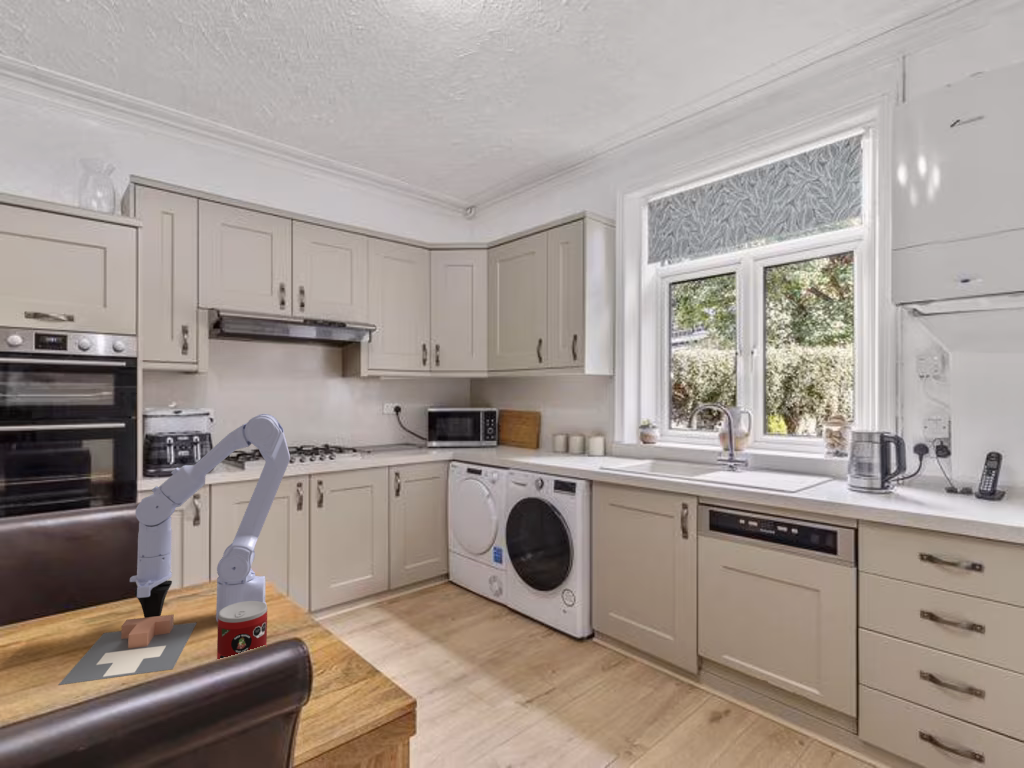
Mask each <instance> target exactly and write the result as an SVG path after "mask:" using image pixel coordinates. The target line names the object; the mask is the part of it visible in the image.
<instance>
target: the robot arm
mask: <svg viewBox="0 0 1024 768" xmlns="http://www.w3.org/2000/svg"><path fill="white" fill-rule="evenodd" d="M251 445H253V447H255V448H257V449H258V450H259V451H258V452H259V453H260V454H261V456H262V458H263V459H264V461H265V463H264V466H263V469H262V471H261V473H260V476H259V478H258V480H257V482H256V485H255V488H254V491H253V492H252V495H251V497H250V499H249V502H248V505H247V507H246V509H245V511H244V515H243V516H242V519H241V520H240V524H239V525H238V526H239V527H238V529H237V531H236V533H235V535H234V539H233V540H232V542H231V544H229V545H228V546H227V547H226V548H225V550H224V552H223V555H222V557H221V558H220V560H219V562H218V564H217V567H216V573H217V579H216V606H215V607H216V610H215V611H216V612H215V619H216V623H218V616H219V612H220V610H222V609H223V608H225V607H227V606H229V605H232V604H235V603H239V602H245V601H259V602H263V603H265V604H266V605H267V602H266V576H265V575H262V576H259V575H256V572H255V571H254V570H253V569H252V564H253V562H254V560H255V556H256V553H255V547H256V544H257V542H258V539H259V537H260V535H261V532H262V529H263V527H264V524H265V522H266V520H267V518H268V515H269V512H270V510H271V507H272V505H273V503H274V500H275V498H276V495H277V493H278V490H279V487H280V486H281V485H280V484H281V483H282V480H283V478H284V475H285V473H286V470H287V468H288V466H289V463H290V459H291V454H290V451H289V445H288V442H287V438H286V435H285V429H284V427H283V426H282V425H281V423H280V422H279V420H277V418H276V417H275V416H274V415H271V414H269V413H260V414H257V415H255V416H254V417H251V418H250V419H249V420H248V421H247V422H246V423H244V424H242V425H240V426H239V427H237V428H236V429H234V430H233V431H231V432H229V433H228V434H227V435H225V437H223V438H222V439H221V440H220V441H219V442H218V443H217V444H216V445H215V446H213V447H212V448H211V449H210V450H209V451H208V452H207V453H206V454H205V455H204V456H203V457H201V458H200V460H198V461H197V462H196V463H195V464H191V465H189V464H185V465H182V466H181V467H176V468H174V469H173V470H172V471H171V476H169V478H167V479H166V480H165V481H164V482H162V484H160V485H159V486H157V485H156V486H155V487H153V488H152V489H151V491H152V492H153V493H152V494H150V495H148V496H145V497H143V498H142V499H141V501H140V502H139V503H138V504H137V506H136V508H135V517H136V519H137V521H138V522H139V523H138V532H137V533H138V534H137V536H138V537H137V561H136V562H137V563H136V568H137V569H136V575H132V576H131V577H130V578H129V583H135V584H136V586H137V587H136V588H135V589H134V595H135V597H136V599H137V600H138V601H139V604H140V606H141V608H142V613H143V618H146V617H155V616H162V613H163V612H162V611H163V608H164V603H165V599H166V596H167V594H168V591H169V589H170V588H171V586H172V584H173V581H172V580H170V579H171V578H172V576H173V572H172V540H173V539H172V538H173V537H172V536H173V534H172V533H173V530H172V515H173V514H174V513H175V510H176V508H179V507H181V506H183V505H184V503H185V502H187V501H188V500H189V499H190V498H192V497H193V496H194V495H195V494H196V493H197V492H198V491H200V490H201V489H202V488H203V486H205V485H206V476H207V474H208V473H210V472H211V471H212V470H213V469H215V468H216V467H218V465H219V464H221V463H222V462H223V461H224V460H225V459H226V458H227V457H228V458H229V456H230V455H231V454H233V453H234V452H235V451H237V450H239V449H240V450H241V449H244V448H248V447H250V446H251Z"/></svg>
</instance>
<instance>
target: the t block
mask: <svg viewBox="0 0 1024 768" xmlns="http://www.w3.org/2000/svg"><path fill="white" fill-rule="evenodd" d="M174 618H175V617H174V614H166V615H161V616H155V617H146V618H144V617H138V618H129V619H126V620H125V621H124V622H123V623H122V625H121V630H120V631H121V639H125V638H128V649H129V648H137V647H145V646H148V644H149V643H150V641H151V640H152V638H153V637H154V635H158V634H167V633H170V632H171V630H172V628H173V625H174V621H175V620H174Z"/></svg>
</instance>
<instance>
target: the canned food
mask: <svg viewBox="0 0 1024 768" xmlns="http://www.w3.org/2000/svg"><path fill="white" fill-rule="evenodd" d="M267 634H268V605H267V603H266V604H265V603H263V602H259V601H245V602H239V603H235V604H232V605H229V606H227V607H225V608H223V609H222V610H220V612H219V616H218V622H217V636H216V637H217V640H216V642H217V643H216V644H217V645H216V646H217V648H216V651H217V652H216V660H217V659H220V658H224V657H228V656H231V655H235V654H238V653H241V652H244V651H247V650H250V649H254V648H257V647H260V646H263V645H266V646H267V639H268V637H267V636H268V635H267Z"/></svg>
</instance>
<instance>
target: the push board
mask: <svg viewBox="0 0 1024 768" xmlns="http://www.w3.org/2000/svg"><path fill="white" fill-rule="evenodd" d="M196 625H197V622H196V621H195V622H189V623H180V624H173V628H172V630H171V632H170V633H167V634H158V635H154V637H153V638H152V640H151V641H150V643H149V644H148V646H145V647H137V648H129V649H128V638H125V639H121V630H120V631H111V632H110V631H109V632H103V633H102V635H101V636H100V637H99V638H98V639H97V640H96V641H95V642H94V644H93V645H91V647H90V648H89V649H88V651H87V652H86V653H85V654H84V655H83V656H82V657H81V658H80V660H79V661H78V662H77V663H76V664H75V665H74V666H73V667H72V668H71V670H70V671H69V672H68V673H67V674H66V675H65V677H64V678H63V679H62V680H61V681H60V682H59V683H58V686H61V685H63V686H64V685H69V684H71V685H72V684H76V683H83V682H90V681H99V680H105V679H106V680H107V679H113V678H114V679H115V678H118V677H119V678H121V677H126V676H134V675H142V674H148V673H155V672H162V671H163V672H164V671H169V670H174V668H175V667H176V663H177V662H178V660H179V658H180V656H181V655H182V653H183V651H184V650H185V649H184V648H185V646H186V644H187V643H188V642H189V641H188V640H189V639H190V637H191V635H192V633H193V631H194V630H195V627H196Z"/></svg>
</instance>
